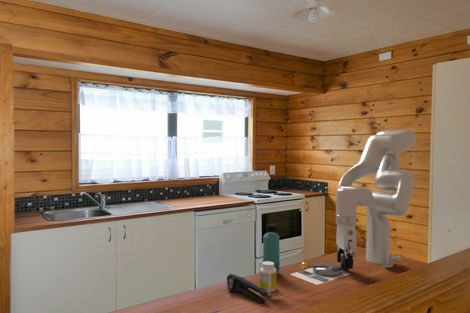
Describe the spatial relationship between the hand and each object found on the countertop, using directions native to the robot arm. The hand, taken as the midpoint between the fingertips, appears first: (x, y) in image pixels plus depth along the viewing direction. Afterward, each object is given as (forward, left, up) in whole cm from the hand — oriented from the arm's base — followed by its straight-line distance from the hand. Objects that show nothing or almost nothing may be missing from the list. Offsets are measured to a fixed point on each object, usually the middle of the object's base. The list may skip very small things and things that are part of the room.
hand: (344, 264), depth 136 cm
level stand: (+10, +2, -4) cm, 11 cm away
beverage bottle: (+29, +2, -5) cm, 30 cm away
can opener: (+39, +19, -5) cm, 44 cm away
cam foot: (+7, 0, -3) cm, 7 cm away
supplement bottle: (+32, +17, -5) cm, 37 cm away
